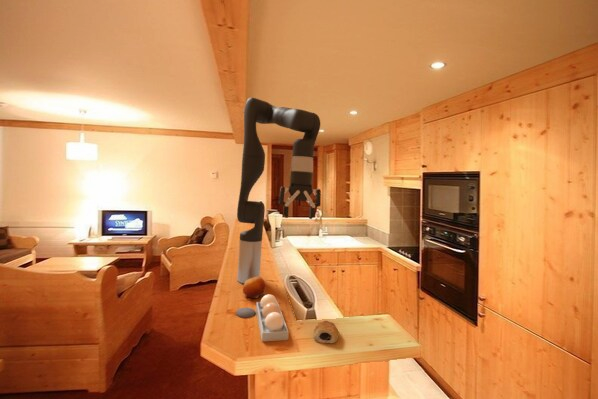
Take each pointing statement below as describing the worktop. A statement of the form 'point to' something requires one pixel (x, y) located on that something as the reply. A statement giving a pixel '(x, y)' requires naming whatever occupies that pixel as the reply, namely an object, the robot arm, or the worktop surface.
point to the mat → (245, 312)
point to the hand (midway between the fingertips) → (298, 218)
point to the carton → (267, 334)
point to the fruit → (254, 287)
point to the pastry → (326, 332)
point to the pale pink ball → (270, 309)
